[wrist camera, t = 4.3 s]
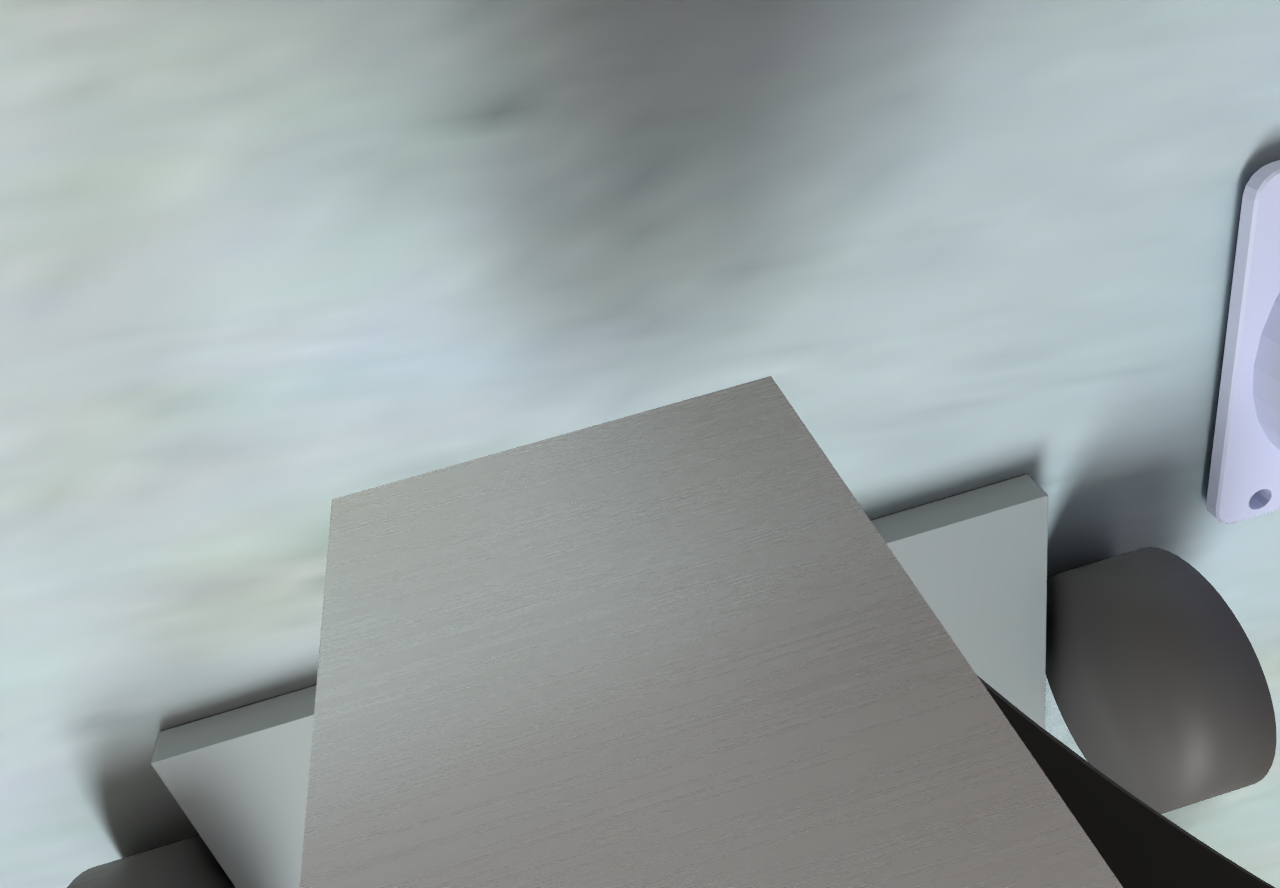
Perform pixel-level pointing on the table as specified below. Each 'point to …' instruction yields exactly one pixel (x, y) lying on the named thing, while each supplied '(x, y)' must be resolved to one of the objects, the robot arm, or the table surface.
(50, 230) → the table surface
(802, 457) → the block
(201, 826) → the chassis board
